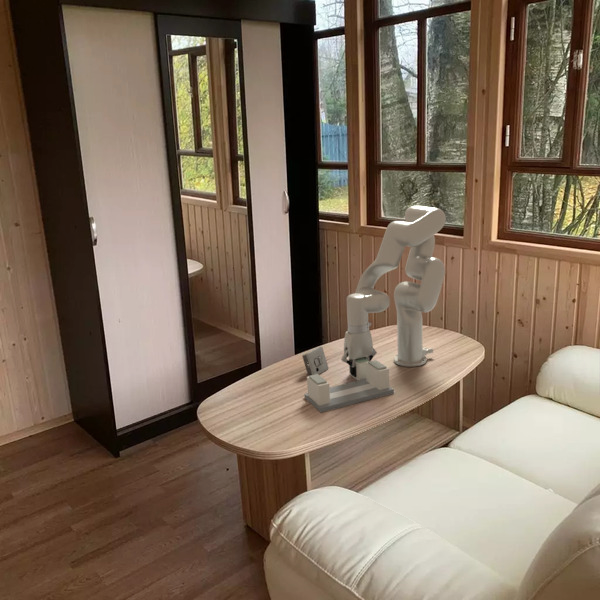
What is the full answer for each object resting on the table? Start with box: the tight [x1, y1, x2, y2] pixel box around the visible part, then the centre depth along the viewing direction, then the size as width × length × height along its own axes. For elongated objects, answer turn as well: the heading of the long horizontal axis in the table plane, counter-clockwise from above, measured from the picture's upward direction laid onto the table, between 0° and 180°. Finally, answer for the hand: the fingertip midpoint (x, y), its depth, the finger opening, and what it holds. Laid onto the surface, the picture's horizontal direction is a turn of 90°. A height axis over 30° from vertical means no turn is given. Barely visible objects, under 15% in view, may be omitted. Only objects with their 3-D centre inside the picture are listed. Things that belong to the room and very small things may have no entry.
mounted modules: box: [306, 359, 390, 406], centre depth 207 cm, size 27×9×8 cm, turn 114°
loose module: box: [348, 357, 370, 381], centre depth 223 cm, size 4×8×8 cm, turn 24°
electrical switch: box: [301, 346, 329, 376], centre depth 230 cm, size 9×5×9 cm, turn 141°
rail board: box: [303, 379, 395, 413], centre depth 209 cm, size 28×13×2 cm, turn 114°
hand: (359, 373), depth 223 cm, fingers closed on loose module, 4 cm apart
